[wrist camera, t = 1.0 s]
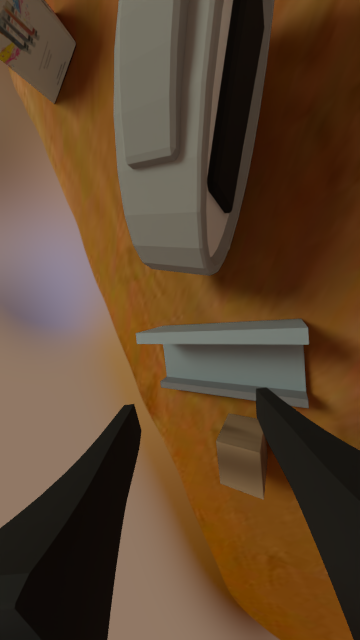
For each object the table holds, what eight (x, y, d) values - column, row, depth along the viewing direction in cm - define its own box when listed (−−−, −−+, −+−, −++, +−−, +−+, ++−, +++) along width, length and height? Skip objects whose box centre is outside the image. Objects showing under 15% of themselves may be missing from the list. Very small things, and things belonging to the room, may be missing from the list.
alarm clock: (231, 281, 21) (172, 265, 10) (183, 275, 23) (93, 257, 12) (284, 5, 16) (288, -670, 5) (215, 39, 19) (115, -338, 8)
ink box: (35, 74, 33) (-80, -28, 22) (54, 11, 29) (-74, -149, 18) (54, 107, 31) (-58, 14, 21) (78, 45, 27) (-47, -107, 17)
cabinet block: (267, 459, 21) (264, 502, 17) (232, 450, 23) (220, 486, 19) (264, 419, 21) (259, 452, 16) (228, 413, 23) (216, 441, 18)
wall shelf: (306, 396, 18) (314, 432, 14) (170, 380, 26) (144, 399, 21) (301, 318, 18) (308, 327, 13) (163, 326, 26) (135, 333, 21)
